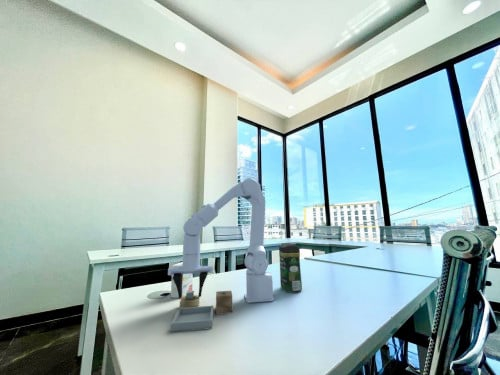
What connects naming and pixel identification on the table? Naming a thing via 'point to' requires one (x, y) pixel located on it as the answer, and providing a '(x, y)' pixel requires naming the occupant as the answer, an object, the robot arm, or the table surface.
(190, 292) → the gray metal block
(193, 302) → the wooden square frame
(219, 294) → the walnut block
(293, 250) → the coffee jar
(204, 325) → the tray
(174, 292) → the ink cartridge box
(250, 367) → the table surface
